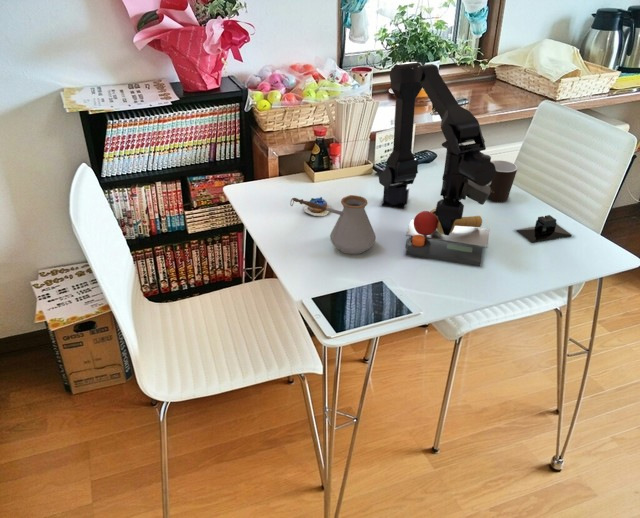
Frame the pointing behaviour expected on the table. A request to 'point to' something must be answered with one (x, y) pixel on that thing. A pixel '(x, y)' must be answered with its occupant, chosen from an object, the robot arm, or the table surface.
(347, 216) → the coffee pot
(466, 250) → the scale display
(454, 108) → the robot arm
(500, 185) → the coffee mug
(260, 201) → the table surface
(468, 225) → the kendama
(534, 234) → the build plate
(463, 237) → the pan
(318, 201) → the dessert
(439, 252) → the scale
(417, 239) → the button
